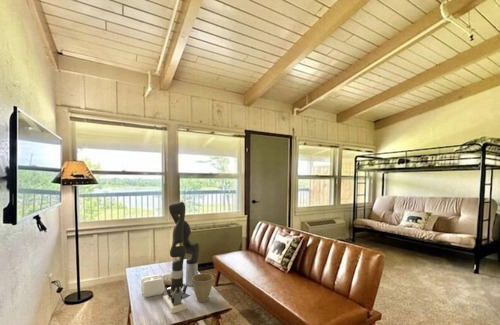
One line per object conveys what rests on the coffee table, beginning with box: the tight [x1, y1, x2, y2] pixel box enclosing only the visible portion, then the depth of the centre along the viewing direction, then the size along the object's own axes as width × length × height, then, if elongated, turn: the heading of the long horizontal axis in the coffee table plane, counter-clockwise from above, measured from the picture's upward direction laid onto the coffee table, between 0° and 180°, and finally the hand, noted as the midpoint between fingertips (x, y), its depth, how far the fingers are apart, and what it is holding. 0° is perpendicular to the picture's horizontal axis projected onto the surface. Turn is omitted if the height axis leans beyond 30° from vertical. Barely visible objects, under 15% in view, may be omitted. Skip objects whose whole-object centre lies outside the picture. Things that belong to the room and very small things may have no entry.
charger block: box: [172, 291, 181, 306], centre depth 172 cm, size 4×4×9 cm
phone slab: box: [182, 292, 191, 300], centre depth 190 cm, size 6×11×1 cm, turn 50°
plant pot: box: [192, 272, 214, 303], centre depth 183 cm, size 15×15×16 cm
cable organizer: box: [140, 274, 165, 298], centre depth 191 cm, size 15×11×12 cm
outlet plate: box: [162, 294, 188, 314], centre depth 175 cm, size 10×20×3 cm, turn 34°
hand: (176, 301), depth 172 cm, fingers closed on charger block, 4 cm apart
